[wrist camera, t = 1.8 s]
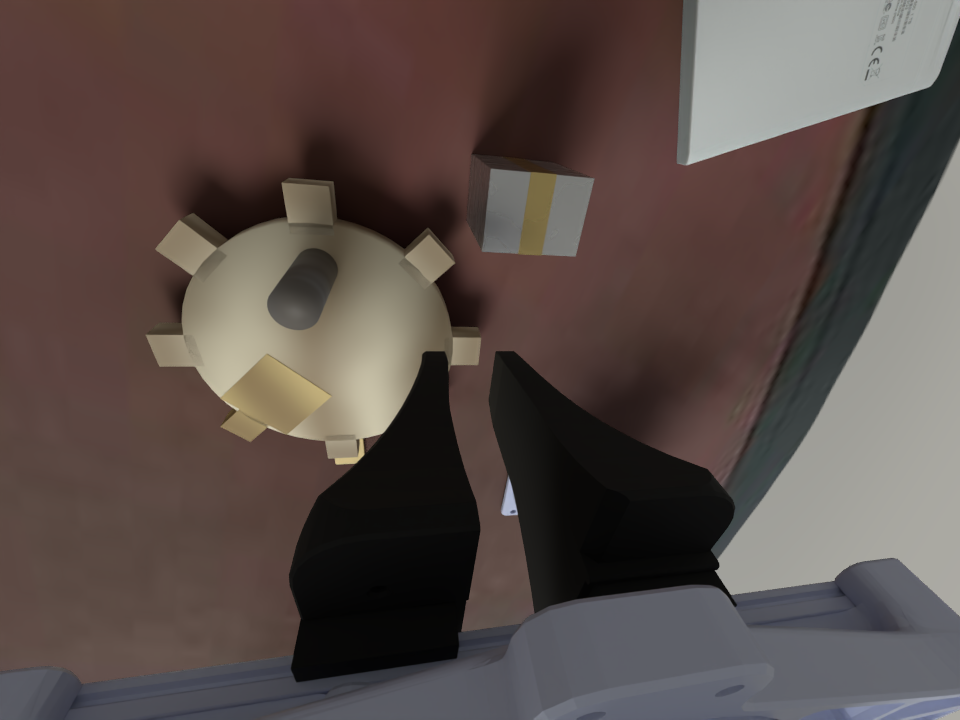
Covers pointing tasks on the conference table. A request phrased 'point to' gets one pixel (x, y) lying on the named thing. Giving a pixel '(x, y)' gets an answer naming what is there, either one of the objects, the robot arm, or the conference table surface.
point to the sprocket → (309, 320)
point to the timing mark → (352, 459)
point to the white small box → (526, 205)
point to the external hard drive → (799, 64)
